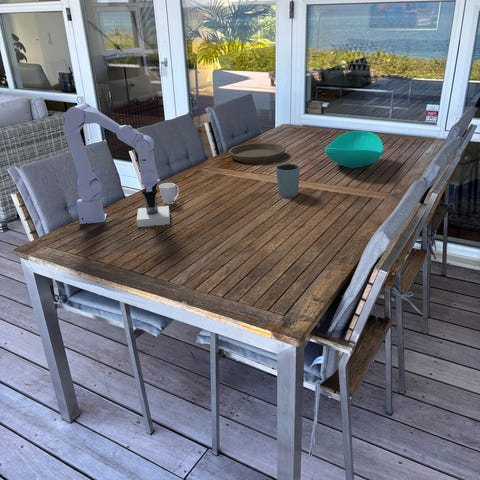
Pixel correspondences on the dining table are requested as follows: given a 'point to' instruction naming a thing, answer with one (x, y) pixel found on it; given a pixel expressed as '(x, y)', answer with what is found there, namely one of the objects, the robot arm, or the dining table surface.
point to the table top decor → (355, 149)
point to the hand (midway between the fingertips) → (152, 203)
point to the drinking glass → (288, 179)
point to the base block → (153, 217)
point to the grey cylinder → (152, 210)
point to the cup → (168, 192)
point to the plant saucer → (257, 152)
